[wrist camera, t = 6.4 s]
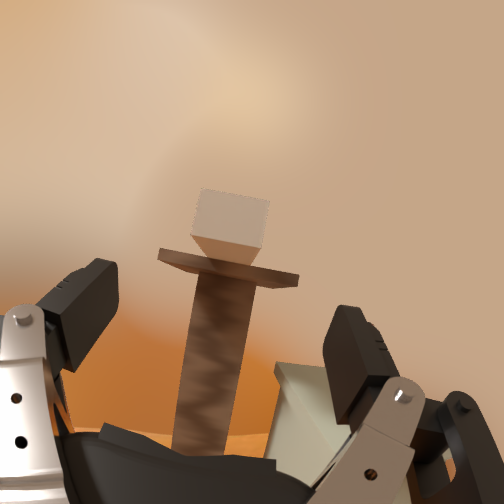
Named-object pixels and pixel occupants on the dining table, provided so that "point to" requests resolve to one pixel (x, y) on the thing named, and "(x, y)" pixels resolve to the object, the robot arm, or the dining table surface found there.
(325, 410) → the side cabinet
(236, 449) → the dining table surface
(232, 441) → the dining table surface
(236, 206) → the panel bar
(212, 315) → the walnut stand
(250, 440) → the dining table surface
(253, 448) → the dining table surface
